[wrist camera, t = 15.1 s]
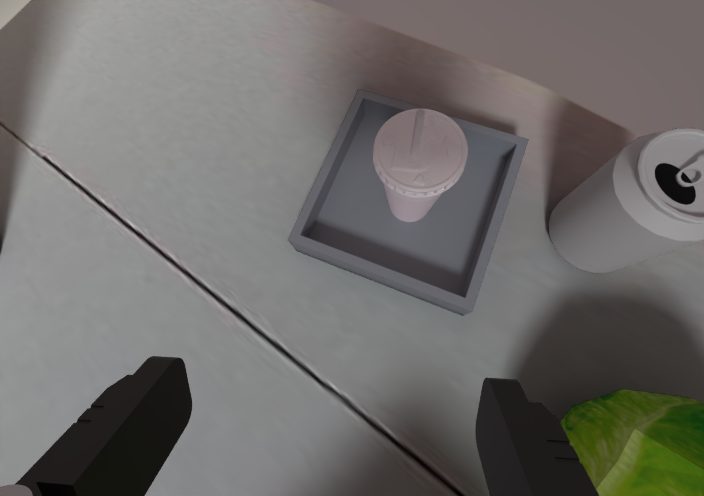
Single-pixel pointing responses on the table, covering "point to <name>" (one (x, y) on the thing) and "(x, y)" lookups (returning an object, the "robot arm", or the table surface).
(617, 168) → the can
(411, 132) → the smoothie
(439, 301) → the tray
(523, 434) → the robot arm
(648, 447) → the lettuce
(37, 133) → the table surface
